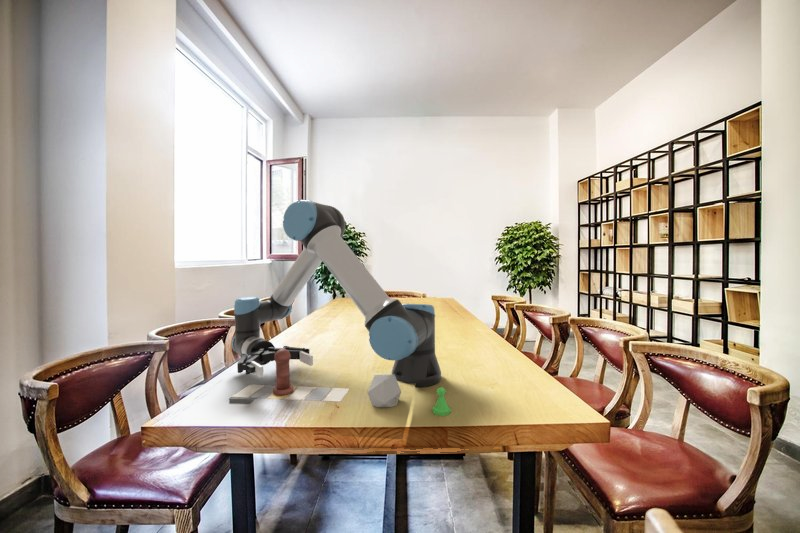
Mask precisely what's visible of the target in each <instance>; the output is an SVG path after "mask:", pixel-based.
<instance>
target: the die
mask: <svg viewBox="0 0 800 533" xmlns="http://www.w3.org/2000/svg"><path fill="white" fill-rule="evenodd" d="M398 382H399V381H397V379H396V377H395V374H393V375H392V374H374V375H373V378H372V380H371V383H370V385H369V387H368V390H367V395H368V398H369V400H370V402H371V405H372V406H373V407H376V408H392V407H394V406H397V405H398V403H399V399H400V396H401V394H402V390H401V387H400V385H399V383H398Z"/></svg>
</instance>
